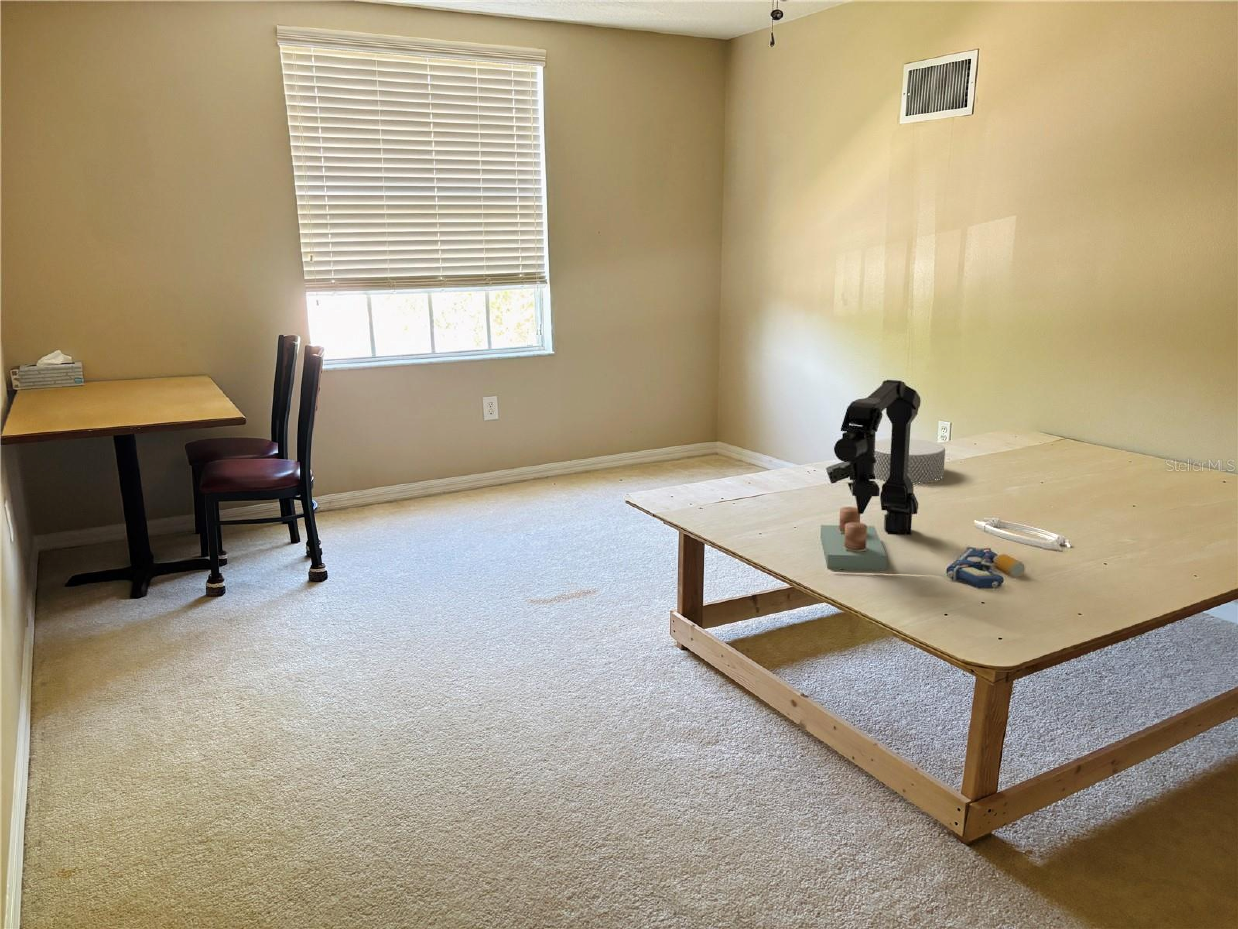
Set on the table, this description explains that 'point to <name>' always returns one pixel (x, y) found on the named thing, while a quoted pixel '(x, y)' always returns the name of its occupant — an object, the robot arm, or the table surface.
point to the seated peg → (848, 517)
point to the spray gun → (983, 568)
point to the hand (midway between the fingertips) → (860, 513)
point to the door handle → (1047, 544)
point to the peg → (855, 537)
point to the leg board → (846, 559)
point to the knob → (912, 460)
